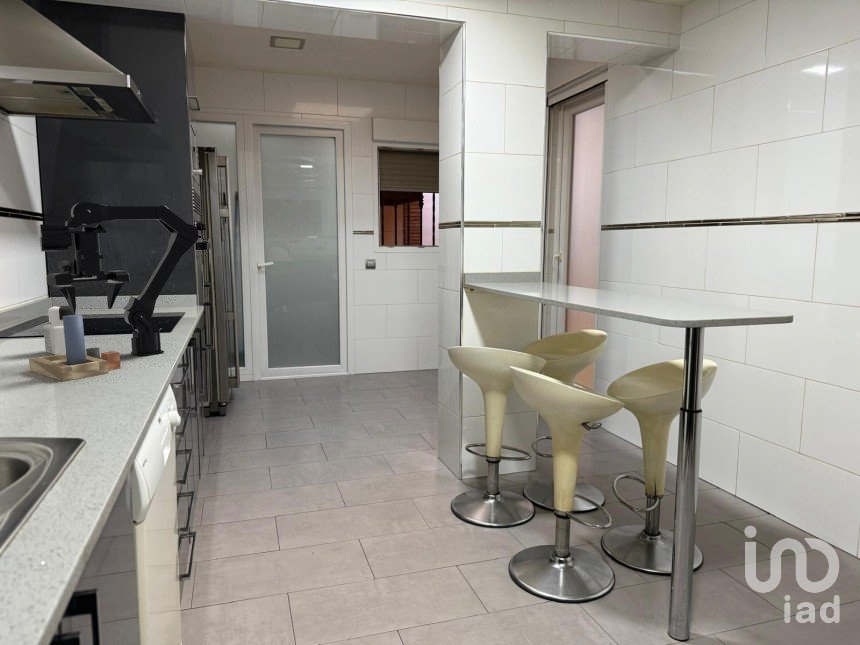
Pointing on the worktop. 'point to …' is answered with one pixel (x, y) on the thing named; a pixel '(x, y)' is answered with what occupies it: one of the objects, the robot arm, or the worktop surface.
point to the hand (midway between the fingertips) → (92, 310)
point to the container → (56, 330)
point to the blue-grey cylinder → (74, 339)
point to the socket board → (61, 371)
